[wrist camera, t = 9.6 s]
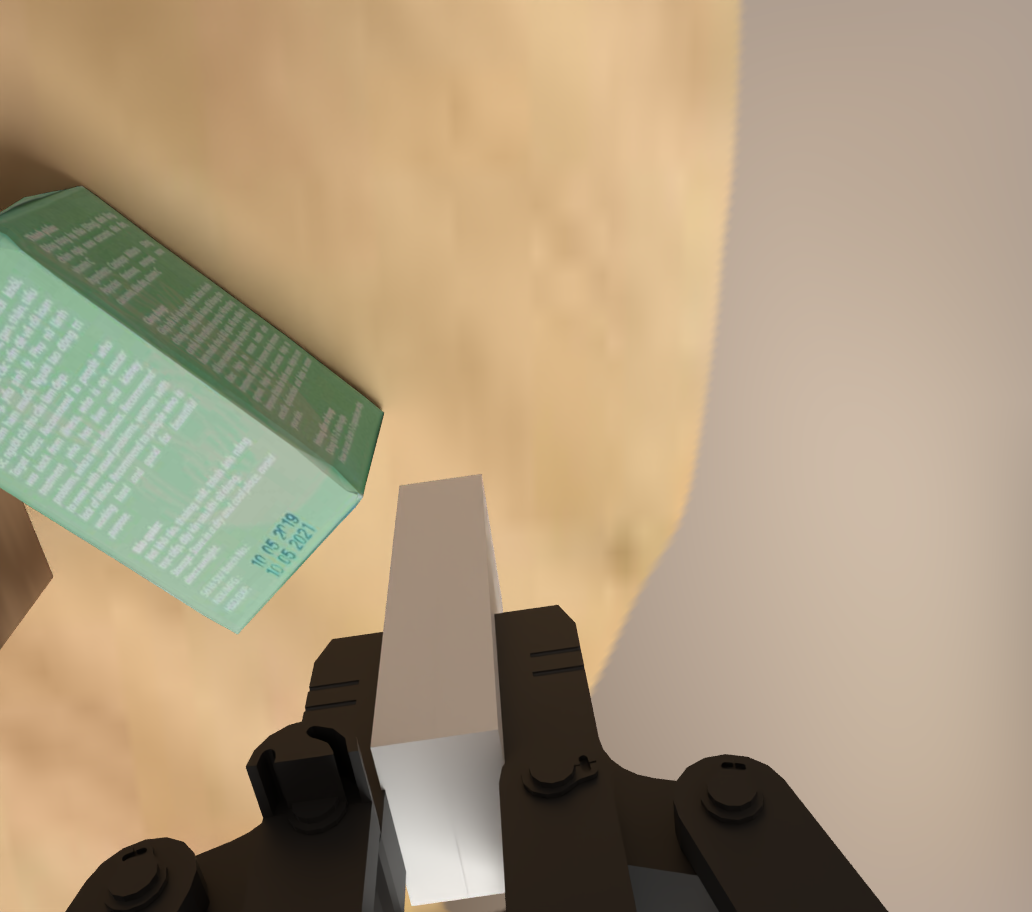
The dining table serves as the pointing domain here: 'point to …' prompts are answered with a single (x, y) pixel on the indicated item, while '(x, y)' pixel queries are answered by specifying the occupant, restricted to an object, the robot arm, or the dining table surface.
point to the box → (166, 411)
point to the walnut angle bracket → (18, 565)
